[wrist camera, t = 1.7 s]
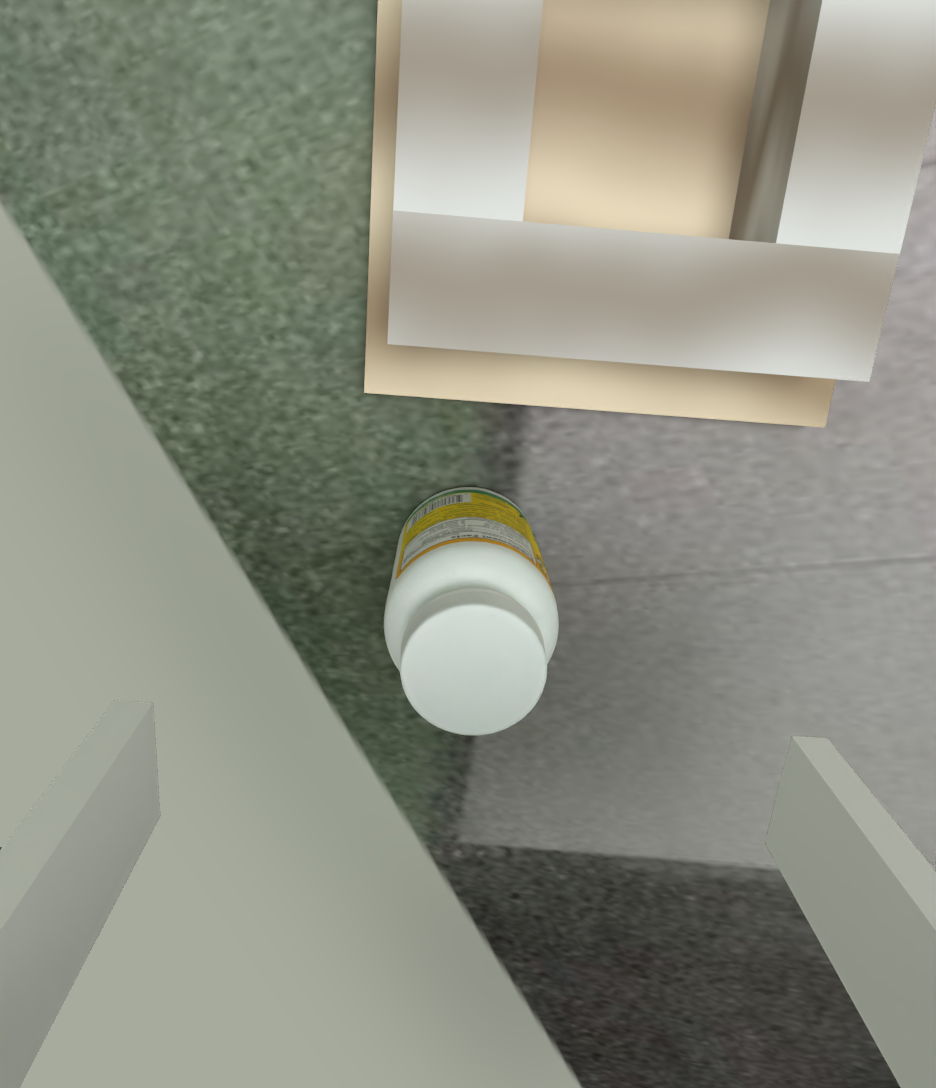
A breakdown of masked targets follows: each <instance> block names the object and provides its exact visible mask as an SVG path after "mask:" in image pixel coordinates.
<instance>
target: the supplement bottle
mask: <svg viewBox="0 0 936 1088" xmlns="http://www.w3.org/2000/svg"><path fill="white" fill-rule="evenodd" d="M558 629H559V619H558V610H557V604H556V601H555V597H554V593H553V590H552V587H551V583H550V581H549V578H548V575H547V571H546V568H545V565H544V562H543V559H542V556H541V553H540V550H539V547H538V544H537V541H536V538H535V535H534V533H533V531H532V528H531V526H530V524H529V522H528V519H527V518H526V517H525V515H524V514H523V512H522V511H521V510H520V509H519V508H518V507H517V506H516V505H515V504H514V503H513V502H511V501H510V500H509V499H507V498H506V497H504V496H502V495H500V494H498V493H496V492H493V491H490V490H487V489H483V488H477V487H460V488H454V489H449V490H445V491H443V492H440V493H438V494H436V495H434V496H432V497H430V498H428V499H427V500H425V501H424V502H423V503H422V504H420V505H419V506H418V507H417V508H416V509H415V510H414V511H413V513H412V514H411V515H410V516H409V518H408V519H407V521H406V523H405V525H404V527H403V529H402V532H401V534H400V538H399V542H398V546H397V552H396V558H395V562H394V567H393V573H392V578H391V583H390V588H389V592H388V597H387V601H386V606H385V614H384V634H385V640H386V644H387V647H388V650H389V653H390V656H391V658H392V660H393V662H394V664H395V665H396V667H397V668H398V670H399V671H400V677H401V682H402V686H403V689H404V692H405V694H406V696H407V698H408V700H409V702H410V703H411V705H412V706H413V708H414V709H415V710H416V711H417V712H418V713H419V714H420V715H421V716H422V717H423V718H424V719H426V720H427V721H428V722H430V723H431V724H433V725H434V726H436V727H439V728H441V729H443V730H445V731H449V732H452V733H456V734H462V735H485V734H491V733H495V732H498V731H501V730H504V729H506V728H508V727H510V726H512V725H514V724H515V723H517V722H519V721H520V720H521V719H522V718H524V717H525V716H526V715H527V714H528V713H529V712H530V711H531V710H532V709H533V707H534V706H535V705H536V703H537V701H538V700H539V698H540V696H541V694H542V692H543V689H544V686H545V682H546V679H547V664H548V662H549V661H550V659H551V657H552V654H553V652H554V649H555V646H556V643H557V637H558Z"/></svg>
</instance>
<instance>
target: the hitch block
mask: <svg viewBox="0 0 936 1088" xmlns="http://www.w3.org/2000/svg"><path fill="white" fill-rule="evenodd" d="M935 105H936V0H378V13H377V41H376V70H375V98H374V127H373V155H372V184H371V212H370V241H369V270H368V298H367V327H366V355H365V384H364V393H374V394H388V395H401V396H414V397H427V398H441V399H454V400H467V401H481V402H494V403H507V404H520V405H534V406H547V407H560V408H573V409H587V410H600V411H613V412H627V413H640V414H653V415H666V416H680V417H693V418H706V419H719V420H733V421H746V422H759V423H773V424H786V425H799V426H812V427H825V425H826V421H827V416H828V412H829V408H830V403H831V399H832V394H833V390H834V385H835V381H836V379H840V380H853V381H866V382H869V380H870V376H871V372H872V368H873V364H874V360H875V355H876V351H877V347H878V343H879V339H880V334H881V330H882V326H883V322H884V318H885V314H886V309H887V305H888V301H889V297H890V293H891V289H892V284H893V280H894V276H895V272H896V268H897V264H898V259H899V255H900V251H901V247H902V243H903V239H904V234H905V230H906V226H907V222H908V218H909V214H910V209H911V205H912V201H913V197H914V193H915V189H916V184H917V180H918V176H919V172H920V168H921V163H922V159H923V155H924V151H925V147H926V143H927V138H928V134H929V130H930V126H931V122H932V118H933V113H934V109H935Z"/></svg>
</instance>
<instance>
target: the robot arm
mask: <svg viewBox="0 0 936 1088" xmlns="http://www.w3.org/2000/svg"><path fill="white" fill-rule="evenodd" d="M159 818H160V803H159V786H158V770H157V755H156V738H155V722H154V708H153V702H137V701H118V700H114V701H113V703H112V704H111V705H110V707H109V708H108V709H107V711H106V712H105V713H104V714H103V716H102V717H101V718H100V720H99V721H98V722H97V724H96V725H95V726H94V728H93V729H92V730H91V731H90V733H89V734H88V735H87V737H86V738H85V739H84V741H83V742H82V743H81V745H80V746H79V747H78V749H77V750H76V751H75V753H74V754H73V755H72V756H71V758H70V759H69V760H68V762H67V763H66V764H65V766H64V767H63V768H62V770H61V771H60V772H59V774H58V775H57V776H56V777H55V779H54V780H53V781H52V783H51V784H50V785H49V787H48V788H47V789H46V791H45V792H44V793H43V794H42V796H41V797H40V798H39V800H38V801H37V803H36V804H35V805H34V806H33V808H32V809H31V810H30V812H29V813H28V814H27V815H26V817H25V818H24V819H23V821H22V822H21V824H20V825H19V826H18V827H17V829H16V830H15V831H14V833H13V834H12V835H11V836H10V838H9V839H8V840H7V842H6V843H5V844H4V846H3V847H2V848H1V847H0V1088H20V1086H21V1084H22V1082H23V1080H24V1078H25V1076H26V1074H27V1072H28V1071H29V1069H30V1067H31V1065H32V1063H33V1061H34V1059H35V1057H36V1055H37V1053H38V1051H39V1049H40V1047H41V1045H42V1044H43V1041H44V1040H45V1038H46V1036H47V1034H48V1032H49V1030H50V1028H51V1026H52V1024H53V1022H54V1020H55V1019H56V1016H57V1015H58V1013H59V1011H60V1009H61V1007H62V1005H63V1003H64V1001H65V999H66V997H67V995H68V993H69V991H70V990H71V988H72V986H73V984H74V982H75V980H76V978H77V976H78V974H79V972H80V970H81V968H82V966H83V964H84V962H85V961H86V959H87V957H88V955H89V953H90V951H91V949H92V947H93V945H94V943H95V941H96V939H97V937H98V935H99V933H100V932H101V929H102V928H103V926H104V924H105V922H106V920H107V918H108V916H109V914H110V912H111V910H112V908H113V906H114V905H115V903H116V901H117V899H118V897H119V895H120V893H121V891H122V889H123V887H124V885H125V883H126V881H127V879H128V877H129V876H130V873H131V872H132V870H133V868H134V866H135V864H136V862H137V860H138V858H139V856H140V854H141V852H142V850H143V849H144V846H145V845H146V843H147V841H148V839H149V837H150V835H151V833H152V831H153V829H154V827H155V825H156V823H157V821H158V820H159ZM765 845H766V846H767V848H768V850H769V852H770V854H771V855H772V857H773V859H774V861H775V863H776V864H777V866H778V868H779V870H780V872H781V873H782V875H783V877H784V879H785V881H786V882H787V884H788V886H789V888H790V890H791V891H792V893H793V895H794V897H795V899H796V900H797V902H798V904H799V906H800V908H801V909H802V911H803V913H804V915H805V917H806V918H807V920H808V922H809V924H810V926H811V927H812V929H813V931H814V933H815V935H816V936H817V938H818V940H819V942H820V944H821V945H822V947H823V949H824V951H825V953H826V954H827V956H828V958H829V960H830V962H831V963H832V965H833V967H834V969H835V971H836V972H837V974H838V976H839V978H840V980H841V981H842V983H843V985H844V987H845V989H846V990H847V992H848V994H849V996H850V997H851V999H852V1001H853V1003H854V1005H855V1006H856V1008H857V1010H858V1012H859V1014H860V1015H861V1017H862V1019H863V1021H864V1023H865V1024H866V1026H867V1028H868V1030H869V1032H870V1033H871V1035H872V1037H873V1039H874V1041H875V1042H876V1044H877V1046H878V1048H879V1050H880V1051H881V1053H882V1055H883V1057H884V1059H885V1060H886V1062H887V1064H888V1066H889V1068H890V1069H891V1071H892V1073H893V1075H894V1077H895V1078H896V1080H897V1082H898V1084H899V1086H900V1087H901V1088H936V871H935V870H934V869H933V867H932V866H931V865H930V864H929V863H928V861H927V860H926V859H925V858H924V856H923V855H922V854H921V853H920V851H919V850H918V849H917V848H916V847H915V845H914V844H913V843H912V842H911V840H910V839H909V838H908V837H907V835H906V834H905V833H904V832H903V831H902V829H901V828H900V827H899V826H898V824H897V823H896V822H895V821H894V819H893V818H892V817H891V816H890V815H889V813H888V812H887V811H886V810H885V808H884V807H883V806H882V805H881V804H880V802H879V801H878V800H877V799H876V797H875V796H874V795H873V794H872V792H871V791H870V790H869V789H868V788H867V786H866V785H865V784H864V783H863V781H862V780H861V779H860V778H859V776H858V775H857V774H856V773H855V772H854V770H853V769H852V768H851V767H850V765H849V764H848V763H847V762H846V760H845V759H844V758H843V757H842V756H841V754H840V753H839V752H838V751H837V749H836V748H835V747H834V746H833V744H832V743H831V742H830V741H829V740H828V738H821V737H802V736H791V740H790V744H789V748H788V752H787V756H786V760H785V764H784V768H783V772H782V776H781V780H780V784H779V788H778V792H777V796H776V800H775V804H774V808H773V812H772V816H771V820H770V824H769V828H768V832H767V836H766V840H765Z"/></svg>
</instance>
